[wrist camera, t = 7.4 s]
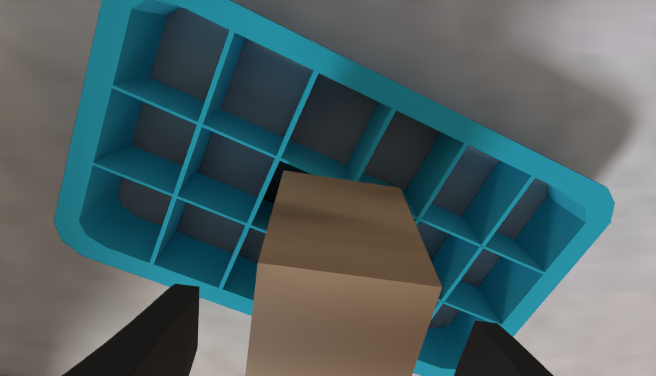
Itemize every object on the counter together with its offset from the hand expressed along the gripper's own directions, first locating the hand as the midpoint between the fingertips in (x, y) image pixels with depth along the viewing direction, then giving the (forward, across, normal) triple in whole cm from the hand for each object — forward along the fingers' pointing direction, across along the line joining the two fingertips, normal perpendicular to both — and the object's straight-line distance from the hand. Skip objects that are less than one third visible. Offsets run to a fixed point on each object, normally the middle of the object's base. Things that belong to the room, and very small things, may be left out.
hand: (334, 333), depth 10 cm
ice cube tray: (+9, 0, 0) cm, 9 cm away
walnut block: (+6, 0, 0) cm, 6 cm away
